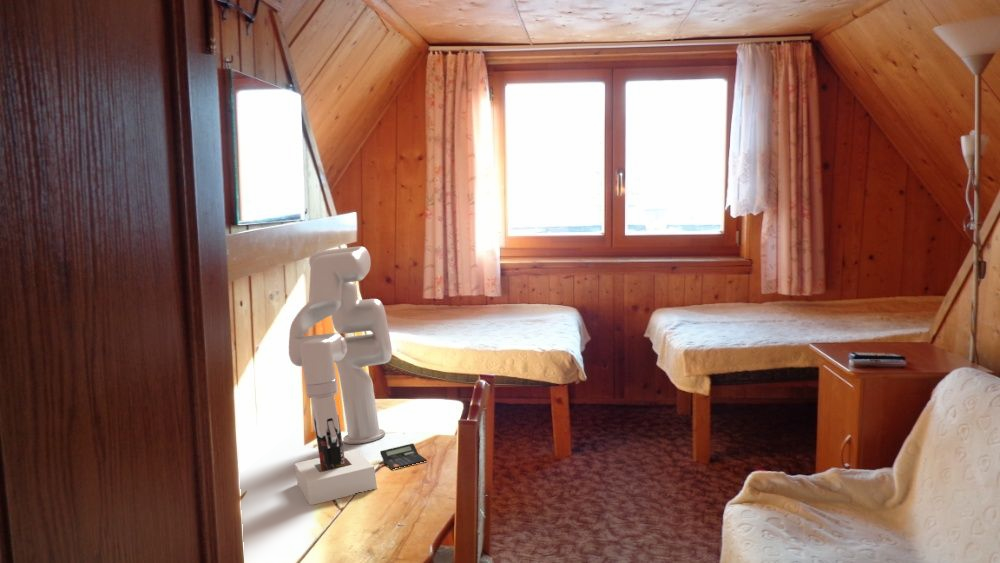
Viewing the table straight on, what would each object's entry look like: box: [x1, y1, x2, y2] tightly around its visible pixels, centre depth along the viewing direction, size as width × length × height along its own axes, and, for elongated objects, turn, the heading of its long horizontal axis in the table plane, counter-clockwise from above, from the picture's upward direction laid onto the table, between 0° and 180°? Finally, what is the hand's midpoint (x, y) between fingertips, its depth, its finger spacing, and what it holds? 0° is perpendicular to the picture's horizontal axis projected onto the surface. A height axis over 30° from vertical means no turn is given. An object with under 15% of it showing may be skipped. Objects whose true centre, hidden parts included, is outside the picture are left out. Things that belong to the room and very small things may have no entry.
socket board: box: [293, 448, 378, 506], centre depth 193 cm, size 20×16×6 cm
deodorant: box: [314, 415, 346, 472], centre depth 193 cm, size 6×6×15 cm
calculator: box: [379, 443, 428, 470], centre depth 208 cm, size 9×12×3 cm
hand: (332, 459), depth 193 cm, fingers closed on deodorant, 5 cm apart
